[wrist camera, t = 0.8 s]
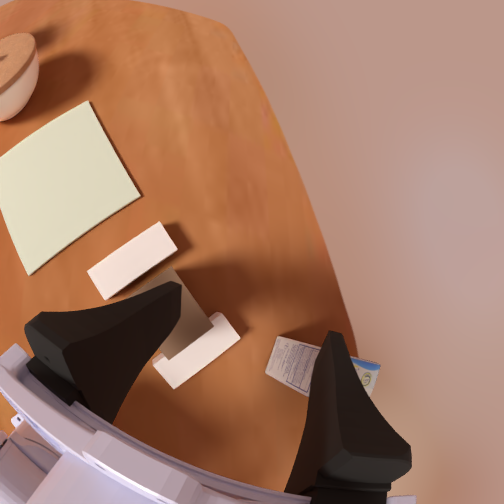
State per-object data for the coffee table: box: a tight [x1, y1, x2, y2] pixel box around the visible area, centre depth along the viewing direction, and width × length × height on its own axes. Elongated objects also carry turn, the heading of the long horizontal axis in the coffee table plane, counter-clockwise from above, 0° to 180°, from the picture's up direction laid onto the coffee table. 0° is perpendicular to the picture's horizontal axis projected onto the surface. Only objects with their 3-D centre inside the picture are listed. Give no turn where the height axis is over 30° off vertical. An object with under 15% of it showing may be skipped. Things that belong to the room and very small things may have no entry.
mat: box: [0, 101, 140, 276], centre depth 22 cm, size 14×14×1 cm
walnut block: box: [126, 266, 214, 360], centre depth 21 cm, size 4×5×8 cm
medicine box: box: [265, 336, 380, 397], centre depth 25 cm, size 8×4×9 cm, turn 69°
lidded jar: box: [0, 33, 39, 122], centre depth 15 cm, size 11×11×9 cm
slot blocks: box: [87, 221, 240, 389], centre depth 24 cm, size 8×13×2 cm, turn 36°
